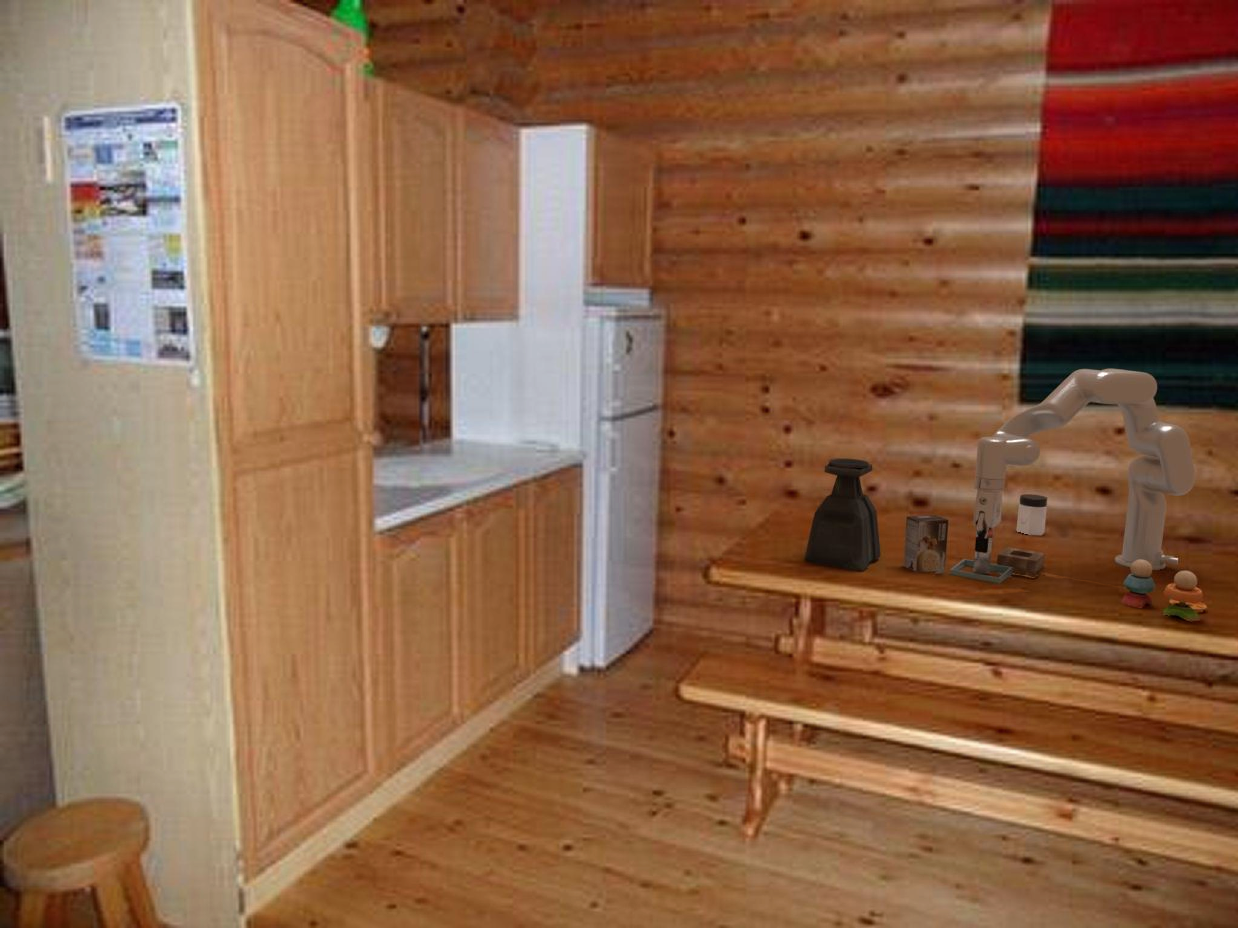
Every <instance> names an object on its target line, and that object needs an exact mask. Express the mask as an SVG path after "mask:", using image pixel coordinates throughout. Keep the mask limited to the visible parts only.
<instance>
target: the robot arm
mask: <svg viewBox="0 0 1238 928" xmlns="http://www.w3.org/2000/svg"><path fill="white" fill-rule="evenodd" d="M1157 391H1158V383H1157V381H1156V379H1155V377H1154V376H1153V375H1152V374H1149V373H1147V372H1143V371H1135V370H1127V369H1119V368H1105V369H1101V370H1099V369H1090V368H1081V369H1077V370H1075V371H1073V372H1072V373H1071V374H1070V375H1068V377H1066V378H1065V379H1064V380H1063V381H1062V382H1061V383H1060V384H1059V385H1058V386H1057V387H1056V388H1055V389H1054V390H1053V391H1052V392H1051V393H1050V394H1049V395H1048V396H1047V397H1046V398H1045V399H1044V400H1042V402H1040V403H1038V404H1036V405H1034V406H1032V407H1030V408H1027V409H1026V410H1023V411H1022V412H1019V413H1018V414H1016V415H1014V416H1012V417H1011V418H1009V419H1008V420H1007V421H1006V422H1005V423H1004V424H1002V426H1001V427H999V428H998V430H996V432H995V433H994V434H993V435H992V436H983V437H980V439H979V440H978V441H977V448H976V458H975V459H976V460H975V461H976V463H975V472H974V483H973V488H974V489H975V490H977V491H976V496H975V504H974V511H973V512H974V513H973V524H974V526H975V527H976V531H975V533H976V534H975V542H974V543H975V544H974V551H976V552H982V553H987V552H988V542H989V538H988V531H989V528H992V529H994V530H995V527H996V526H997V525H999V524H1000V523H1001V522H1002V505H1003V504H1002V503H1003V501H1002V500H1003V492H1004V491H1005V484H1006V476H1007V475H1006V473H1007V466H1008V465H1012V466H1019V467H1025V466H1030V465H1032V464H1034V463H1035V462H1037V460H1038V459H1039V457H1040V454H1041V450H1040V447H1039V445H1038V443H1037V442H1036V441H1035V440H1033V439H1031V438H1029V436H1031V435H1033V434H1036V433H1039V432H1043V431H1048V430H1049V431H1050V430H1054V429H1057V428H1061V427H1064V426H1066V425H1068V423H1069V422H1070V421H1071V420H1073V419H1074V418H1075V416H1076V415H1078V413H1080V412H1081V411H1082V410H1083V409H1084V408H1085V407H1086V406H1087V405H1088V404H1089V403H1097V404H1105V405H1117V406H1118V407H1119V409H1120V411H1121V416H1122V418H1123V424H1124V429H1125V435H1126V439H1127V443H1128V447H1129V448H1130V449H1131V450H1132V451H1133V452H1135V453H1137V454H1141V455H1139V456H1136V457H1134V458H1133V459H1132V460H1131V462H1130V463H1129V465H1128V467H1127V481H1128V482H1127V483H1128V500H1127V501H1128V502H1127V511H1126V521H1125V528H1124V536H1123V545H1122V552H1121V554H1119V555H1116V556H1115V558H1114V560H1115V563H1116V564H1119V565H1121V566H1123V567H1128V568H1131V564H1132V563H1133V562H1134V561H1136V560H1139V559H1143V560H1146V561H1148V562H1149V563H1150V564H1151V566H1152V571H1160V569H1161V570H1164V569H1165V568H1166V564H1170V565H1176V566H1177V565H1178V564H1179V557H1175V555H1174V556H1173V555H1165V553H1164V550H1163V549H1162V544H1163V543H1162V542H1163V538H1164V537H1163V536H1164V528H1165V520H1166V513H1167V500H1166V497H1165V494H1167V495H1170V496H1179V497H1180V496H1184V495H1186V494H1188V493H1189V492H1190V491H1191V490H1192V489H1193V487H1194V485H1195V481H1196V469H1195V465H1194V464H1195V463H1194V457H1193V453H1192V446H1191V442H1190V437H1189V435H1188V434H1187V431H1185V430H1184V428H1182V427H1181V426H1179V425H1176V424H1173V423H1167V422H1164V421H1161V419H1160V416H1159V412H1158V408H1157V404H1156V401H1155V399H1154V398H1155V396H1156V394H1157ZM983 529H986V530H983ZM994 532H995V531H994ZM994 532H993V534H994ZM993 544H994V540H993V541H992V547H993Z"/></svg>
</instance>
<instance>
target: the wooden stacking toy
mask: <svg viewBox="0 0 1238 928" xmlns="http://www.w3.org/2000/svg"><path fill="white" fill-rule="evenodd" d="M1129 568H1130V572H1131V573H1130V574H1128V575H1127V577H1126V578H1125V580H1124V581H1123V582H1122V583H1123V585H1124V587H1125V588H1126V589H1127V590H1128V592H1127V593H1125V594H1124V596H1123V598H1122V600H1121V604H1122V603H1123V604H1122V605H1124V604H1126V605H1125V606H1127V605H1128V606H1127V607H1130V606H1134V607H1133V608H1135V607H1143V606H1144V607H1145V606H1146V605H1147V604H1152V605H1153V600H1152V598H1151V597H1150V596H1149V595H1147V594H1148V593H1151V592H1152V591H1154V590H1155V589H1156V586H1155V583H1154V580H1153V578H1152V577H1151V575H1152V573H1153V570H1152V566H1151V564H1150V563H1149V562H1148V561H1146V560H1143V559H1139V560H1136V561H1134V562H1133V563H1132V564H1131V567H1129ZM1173 578H1174V579H1173V583H1169V584H1167V585H1166V586H1165V589H1164V591H1163V595H1164V596H1165V597H1167V598H1168V599H1169V601H1168V604H1169V606H1167V607H1166V608H1164V609H1163V611H1162V612H1163V613H1164V614H1167V615H1172V616H1180V617H1179V618H1180V619H1183V618H1186V619H1197V618H1199V619H1200V616H1199V615H1198V614H1199V613H1196V612H1195V610H1205V609H1206V610H1207V608H1208V607H1207V605H1206V604H1205V603H1202V602H1203V601H1204V594H1203V590H1201V589H1200V588H1198V587H1197V585H1198V578H1197V575H1196V574H1194V573H1193V572H1192V571H1190V570H1181V571H1178V572H1177V573H1175V576H1174V577H1173ZM1146 603H1147V604H1146ZM1187 604H1190V605H1192V606H1189V605H1187ZM1170 605H1171V606H1170ZM1206 610H1205V611H1206Z"/></svg>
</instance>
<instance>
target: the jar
mask: <svg viewBox="0 0 1238 928" xmlns="http://www.w3.org/2000/svg"><path fill="white" fill-rule="evenodd" d="M1047 504H1048V497H1047V496H1044V495H1040V494H1032V493H1025V494H1020V496H1019V504H1018V511H1017V522H1016V531H1017V532H1016V533H1018V532H1021V533H1020V534H1022V533H1024V534H1023V535H1025V534H1028V535H1027V536H1043V535H1044V533H1045V530H1046V529H1045V528H1046V520H1047V510H1048V505H1047Z"/></svg>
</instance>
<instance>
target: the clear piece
mask: <svg viewBox="0 0 1238 928" xmlns="http://www.w3.org/2000/svg"><path fill="white" fill-rule="evenodd" d="M983 530H986V529H983ZM993 532H995V528H994V529H992V528H989V531H988V538H989V542H988V552H987V553H982V552H976V551H975V550H974V551H975V552H974V553H975V554H974V560H973V561H974V567H973V568H972V569H973V573H976V574H982V575H987V574H988V575H989V574H990V570H989V569H990V564H991V558H992V550H993V546H992V541H993V542H994V533H993Z"/></svg>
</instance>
